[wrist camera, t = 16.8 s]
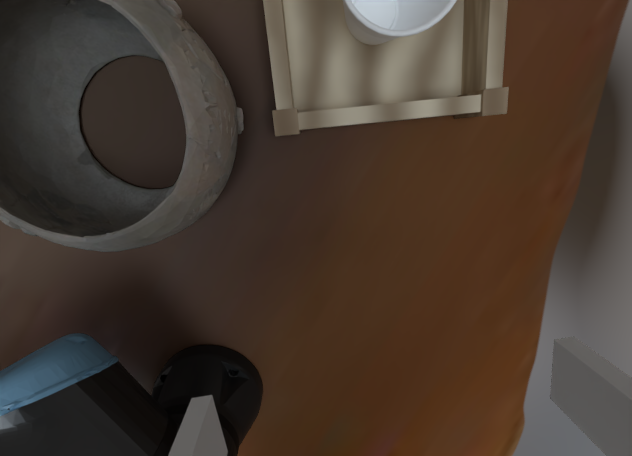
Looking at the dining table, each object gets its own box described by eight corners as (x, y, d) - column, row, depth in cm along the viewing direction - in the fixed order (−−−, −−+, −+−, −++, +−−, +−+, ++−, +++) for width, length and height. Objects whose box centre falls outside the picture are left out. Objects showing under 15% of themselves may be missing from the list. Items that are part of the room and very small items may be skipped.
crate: (280, 135, 38) (275, 136, 32) (250, -108, 31) (237, -167, 25) (474, 116, 38) (506, 113, 32) (484, -131, 31) (528, -196, 25)
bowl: (228, 243, 41) (186, 302, 27) (42, 194, 39) (-113, 230, 25) (273, 51, 35) (249, -4, 21) (55, -21, 33) (-140, -140, 19)
